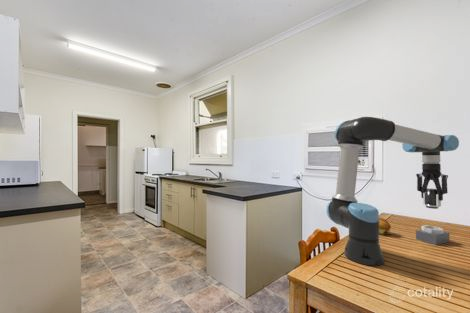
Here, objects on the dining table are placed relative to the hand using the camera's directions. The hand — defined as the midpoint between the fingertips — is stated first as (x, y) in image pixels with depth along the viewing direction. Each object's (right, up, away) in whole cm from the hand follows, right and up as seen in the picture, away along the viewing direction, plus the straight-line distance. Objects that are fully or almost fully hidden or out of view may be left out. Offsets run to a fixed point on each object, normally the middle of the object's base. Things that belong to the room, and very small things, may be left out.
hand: (431, 205), depth 120 cm
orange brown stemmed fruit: (-20, -20, +12) cm, 31 cm away
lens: (0, -1, 0) cm, 1 cm away
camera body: (0, -19, 0) cm, 19 cm away
